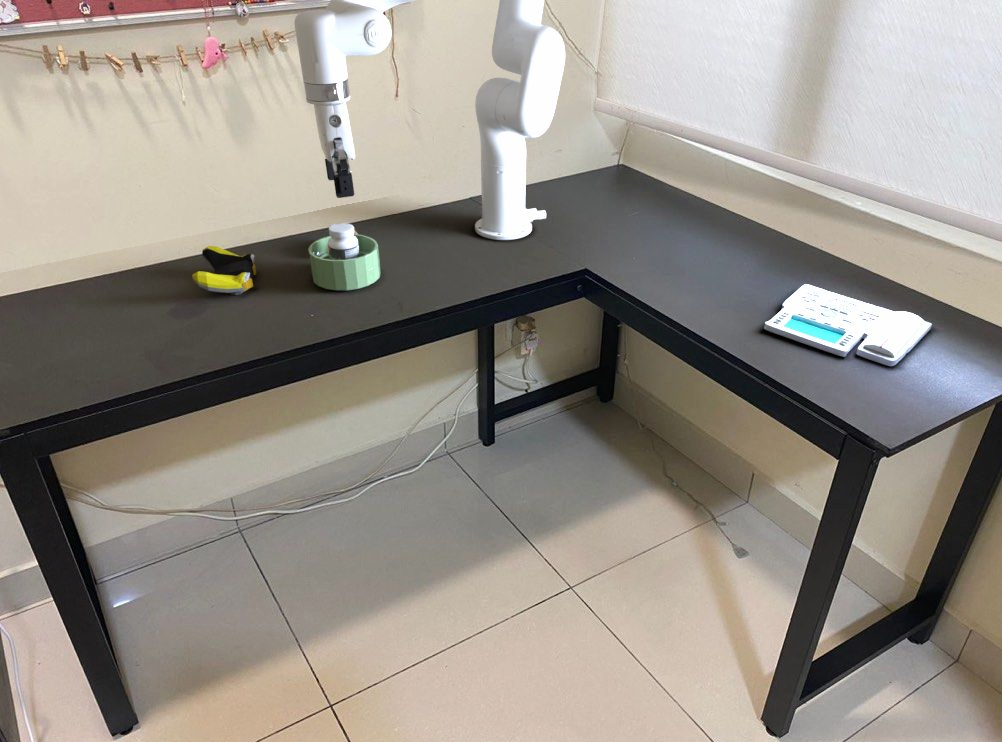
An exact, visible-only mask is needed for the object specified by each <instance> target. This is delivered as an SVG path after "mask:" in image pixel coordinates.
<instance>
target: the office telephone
mask: <svg viewBox="0 0 1002 742" xmlns="http://www.w3.org/2000/svg"><path fill="white" fill-rule="evenodd" d="M932 325H933V324H932V323H931V322H928V321H925V320H924V319H923V318H922V317H920V316H919V315H916V314H914V313H913V312H908V311H903V310H902V311H893V310H891V309H887V308H884V307H880V306H877V305H874V304H870V303H867V302H865V301H861V300H857V299H856V298H855V299H854V298H851V297H848V296H845V295H841V294H838V293H835V292H832V291H828V290H826V289H823V288H820V287H817V286H814V285H811V284H807V283H805V284H803V285H802V286H801V287H799V288H798V289H797V290H796V291H795V292H794V293H793V294H791V295H790V296H789V297H788V298H787V299H786V300H785V301H783V303H782V306H781V310H780V311H779V312H778V313H777V314H775V315H774V316H773V317H772V318H771V319H769V320H768V321H765V322H764V327H763V329H764V330H766V331H768V332H769V333H773V334H775V335H779V336H782V337H785V338H788V339H790V340H792V341H796V342H798V343H802V344H804V345H807V346H810V347H813V348H816V349H818V350H821V351H824V352H827V353H830V354H833V355H836V356H840V357H843V358H845V357H847V354H848V353H850V351H851V350H852V349H853V348H854V347H855V346H856V345H857V344H858V343H859V342H860V341H861V340H862V339H864V340H863V341H862V342H861V344H860V345H859V346H858V347H857V350H856V352H855V353H856V355H857V356H859V357H861V358H864V359H868V360H871V361H873V362H876V363H879V364H881V365H883V366H888V367H894V366H896V365H897V364H898V363H899V362H900V361H901V360H902V359H903V358H905V356H906V354H908V353H909V352H911V350H913V348H914V347H915V346H916V345H917V344H918V343H919V342H920V341H921V339H923V338H924V336H926V335H927V333H928V332H929V331H930V330H931V328H932Z"/></svg>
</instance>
